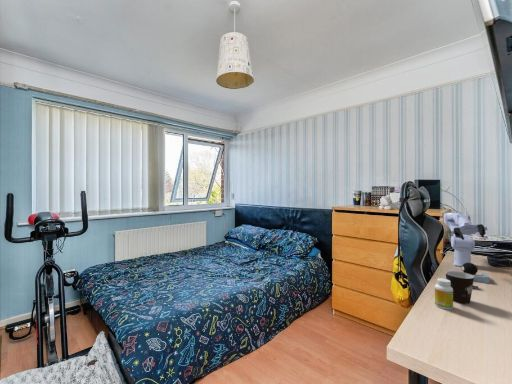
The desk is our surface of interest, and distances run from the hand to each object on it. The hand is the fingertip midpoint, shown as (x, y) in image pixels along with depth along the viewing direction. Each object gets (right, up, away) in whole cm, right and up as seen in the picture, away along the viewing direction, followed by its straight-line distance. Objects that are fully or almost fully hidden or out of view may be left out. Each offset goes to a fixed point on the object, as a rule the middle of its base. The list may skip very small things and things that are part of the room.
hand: (472, 236), depth 125 cm
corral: (-3, -20, -3) cm, 20 cm away
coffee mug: (-30, -20, -27) cm, 45 cm away
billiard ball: (+1, -20, +3) cm, 20 cm away
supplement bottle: (-38, -20, -32) cm, 54 cm away
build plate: (-14, -20, -12) cm, 28 cm away
